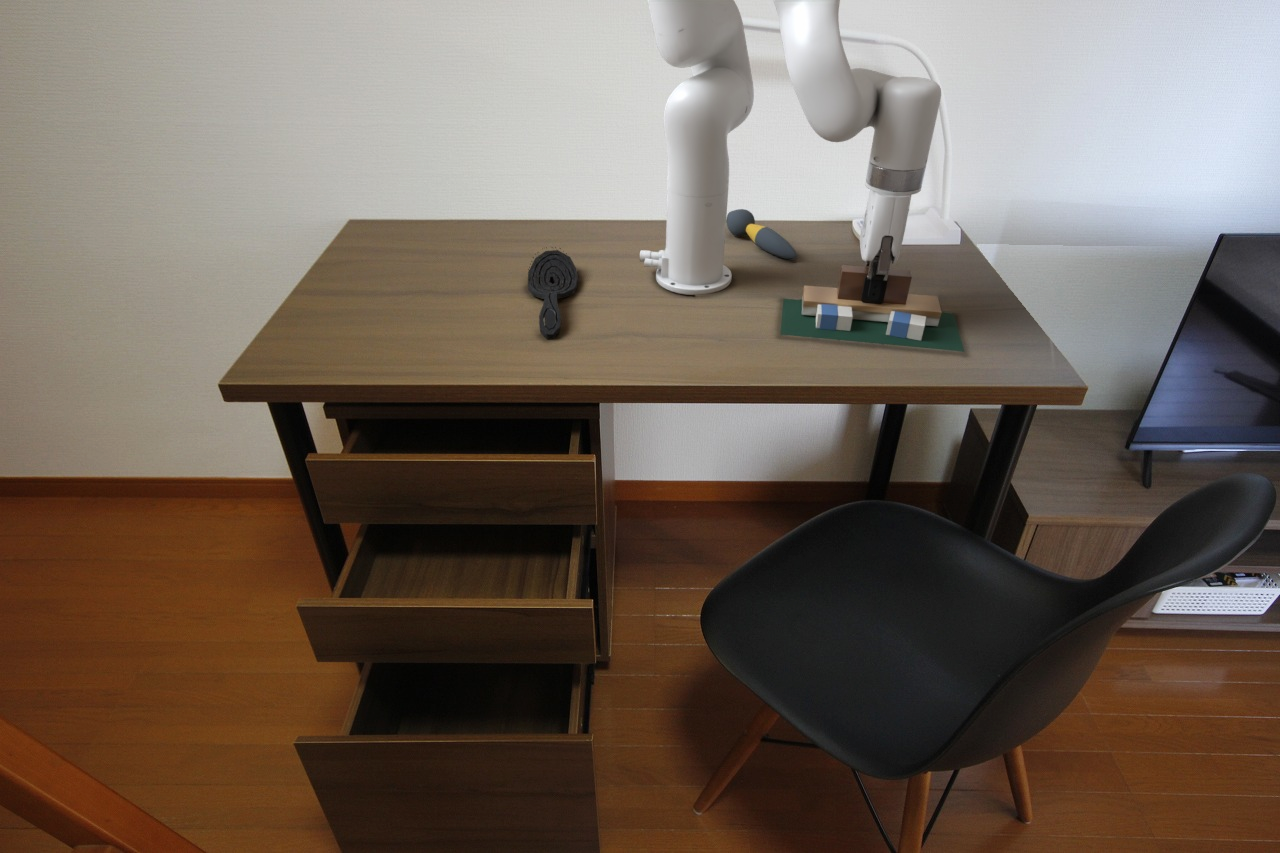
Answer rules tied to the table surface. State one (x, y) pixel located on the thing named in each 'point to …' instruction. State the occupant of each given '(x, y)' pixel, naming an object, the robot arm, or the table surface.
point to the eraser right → (906, 325)
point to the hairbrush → (552, 287)
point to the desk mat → (870, 330)
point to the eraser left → (834, 317)
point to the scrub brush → (893, 301)
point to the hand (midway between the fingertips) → (871, 296)
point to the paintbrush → (759, 234)
